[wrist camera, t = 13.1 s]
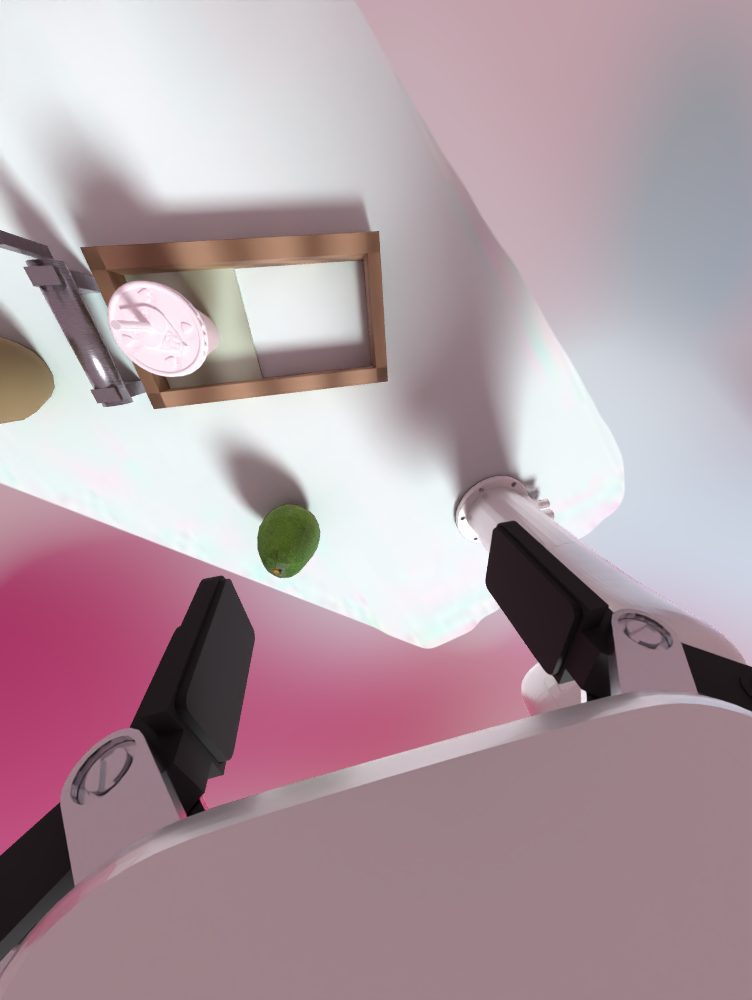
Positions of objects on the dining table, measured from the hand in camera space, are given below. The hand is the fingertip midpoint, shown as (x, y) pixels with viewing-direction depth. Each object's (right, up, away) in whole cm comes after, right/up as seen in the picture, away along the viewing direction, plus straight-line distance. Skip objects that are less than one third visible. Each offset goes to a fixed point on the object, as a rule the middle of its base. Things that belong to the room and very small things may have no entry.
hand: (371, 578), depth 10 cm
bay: (-12, +21, +21) cm, 32 cm away
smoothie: (-18, +20, +20) cm, 34 cm away
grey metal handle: (-26, +19, +19) cm, 38 cm away
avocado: (-12, 0, +33) cm, 35 cm away
